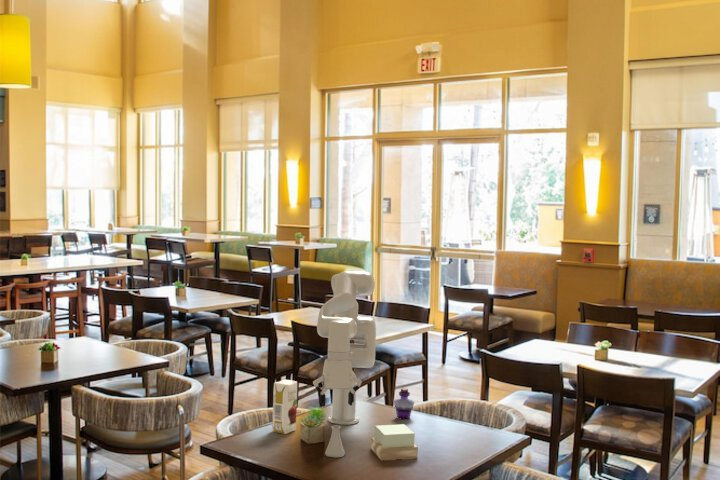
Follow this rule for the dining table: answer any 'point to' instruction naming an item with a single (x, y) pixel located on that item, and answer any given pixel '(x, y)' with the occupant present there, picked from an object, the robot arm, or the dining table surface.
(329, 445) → the flask
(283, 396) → the juice carton
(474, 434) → the dining table surface
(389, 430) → the sage top block
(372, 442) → the birch base block
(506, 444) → the dining table surface
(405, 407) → the potion bottle
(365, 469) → the dining table surface
